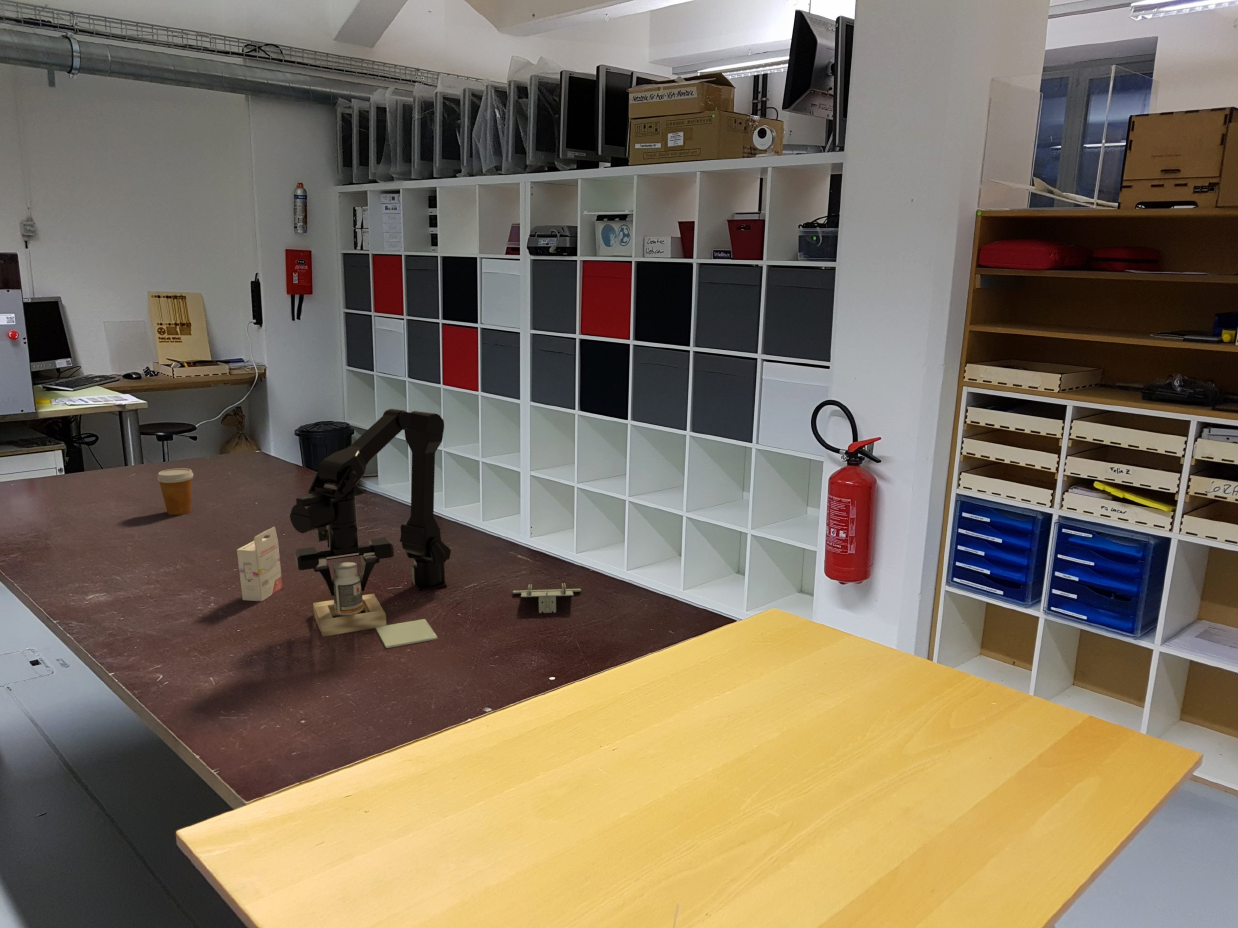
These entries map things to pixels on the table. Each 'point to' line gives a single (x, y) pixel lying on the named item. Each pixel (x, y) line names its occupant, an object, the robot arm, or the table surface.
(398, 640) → the mat
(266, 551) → the ink cartridge box
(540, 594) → the metal bracket
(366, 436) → the robot arm
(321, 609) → the pocket holder
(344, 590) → the pill bottle
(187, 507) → the disposable coffee cup
